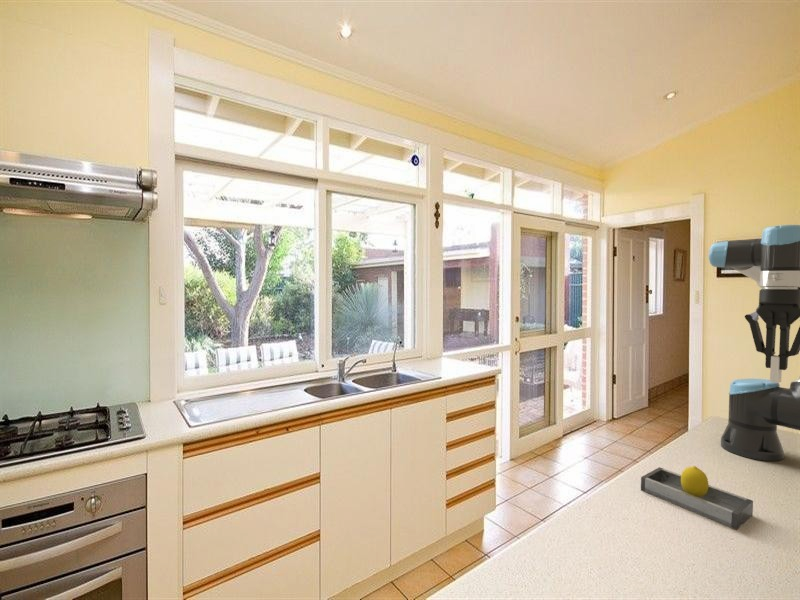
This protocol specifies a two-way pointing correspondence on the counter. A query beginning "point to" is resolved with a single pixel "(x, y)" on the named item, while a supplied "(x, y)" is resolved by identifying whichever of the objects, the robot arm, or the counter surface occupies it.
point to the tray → (699, 499)
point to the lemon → (694, 481)
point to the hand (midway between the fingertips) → (775, 381)
